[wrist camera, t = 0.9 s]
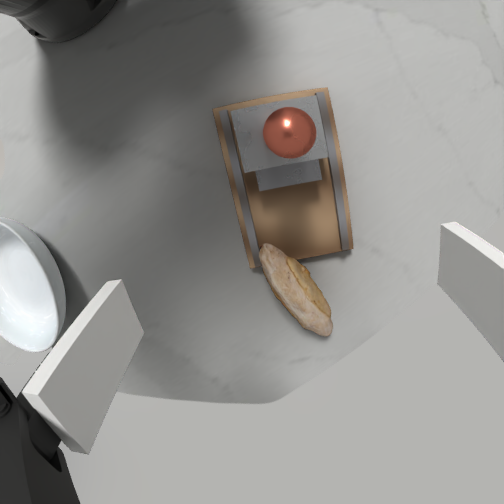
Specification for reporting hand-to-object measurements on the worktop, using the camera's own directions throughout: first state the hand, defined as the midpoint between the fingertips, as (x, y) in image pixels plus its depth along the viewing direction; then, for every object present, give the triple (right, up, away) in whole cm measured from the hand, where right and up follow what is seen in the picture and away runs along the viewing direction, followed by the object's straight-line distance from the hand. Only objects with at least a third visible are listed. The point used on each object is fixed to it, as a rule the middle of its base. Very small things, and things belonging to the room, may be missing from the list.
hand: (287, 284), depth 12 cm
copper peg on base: (+2, +12, +18) cm, 22 cm away
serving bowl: (-36, -2, +27) cm, 45 cm away
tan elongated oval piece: (+6, -4, +27) cm, 28 cm away
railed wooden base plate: (+2, +9, +21) cm, 23 cm away
